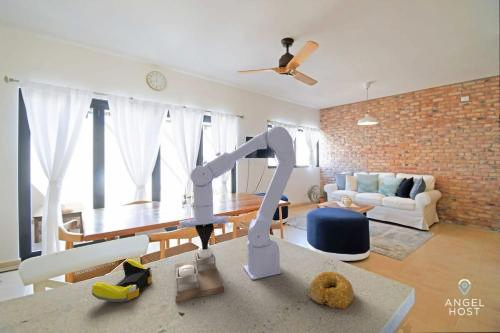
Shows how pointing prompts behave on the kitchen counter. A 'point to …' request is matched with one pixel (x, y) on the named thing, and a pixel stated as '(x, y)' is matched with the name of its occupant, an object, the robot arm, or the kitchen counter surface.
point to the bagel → (331, 290)
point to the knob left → (186, 270)
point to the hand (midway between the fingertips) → (204, 248)
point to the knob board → (198, 279)
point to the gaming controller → (125, 283)
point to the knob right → (205, 252)
